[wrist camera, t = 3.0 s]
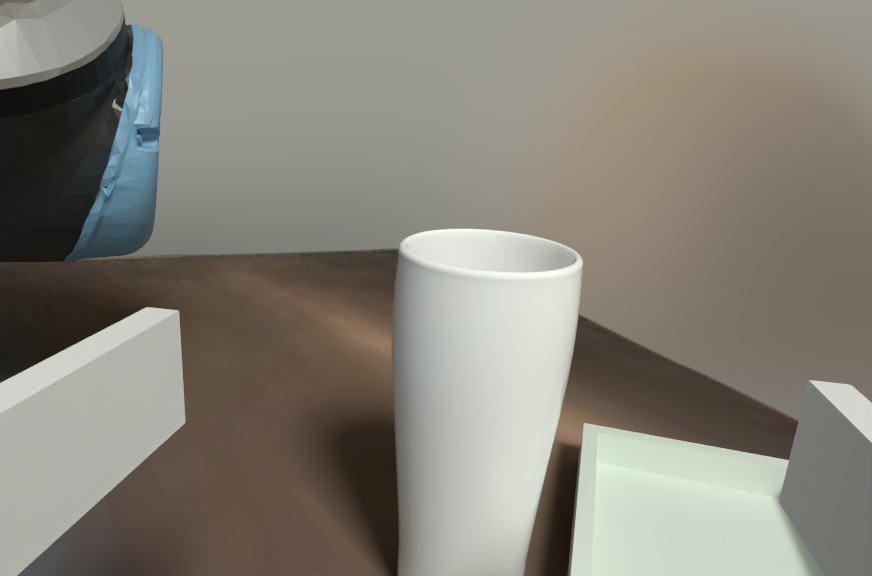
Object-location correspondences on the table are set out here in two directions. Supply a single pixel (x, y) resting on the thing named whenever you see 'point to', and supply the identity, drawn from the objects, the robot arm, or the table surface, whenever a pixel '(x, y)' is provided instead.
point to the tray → (679, 510)
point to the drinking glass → (477, 393)
